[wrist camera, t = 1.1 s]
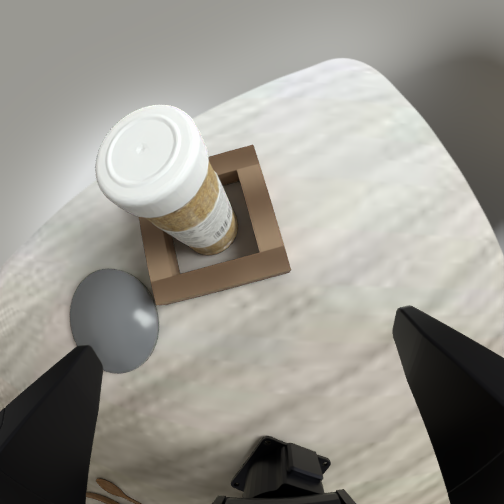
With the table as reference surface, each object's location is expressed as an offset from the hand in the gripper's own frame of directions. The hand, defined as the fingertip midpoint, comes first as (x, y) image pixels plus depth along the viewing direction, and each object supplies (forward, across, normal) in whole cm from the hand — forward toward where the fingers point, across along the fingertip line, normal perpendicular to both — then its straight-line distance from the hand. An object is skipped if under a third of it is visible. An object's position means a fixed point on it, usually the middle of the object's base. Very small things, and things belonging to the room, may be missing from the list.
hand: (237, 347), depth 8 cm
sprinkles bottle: (+16, +3, +3) cm, 17 cm away
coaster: (+12, +12, +8) cm, 19 cm away
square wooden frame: (+16, +3, +3) cm, 16 cm away
